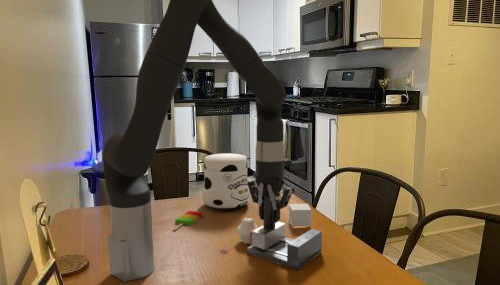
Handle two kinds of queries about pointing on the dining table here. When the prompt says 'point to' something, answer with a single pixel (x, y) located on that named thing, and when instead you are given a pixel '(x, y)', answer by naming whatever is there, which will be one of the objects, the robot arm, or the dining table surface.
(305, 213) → the white cube
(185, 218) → the popsicle
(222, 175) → the milk container
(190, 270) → the dining table surface
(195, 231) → the dining table surface
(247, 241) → the white rounded ridged piece
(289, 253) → the jaw track
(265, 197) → the sliding jaw
